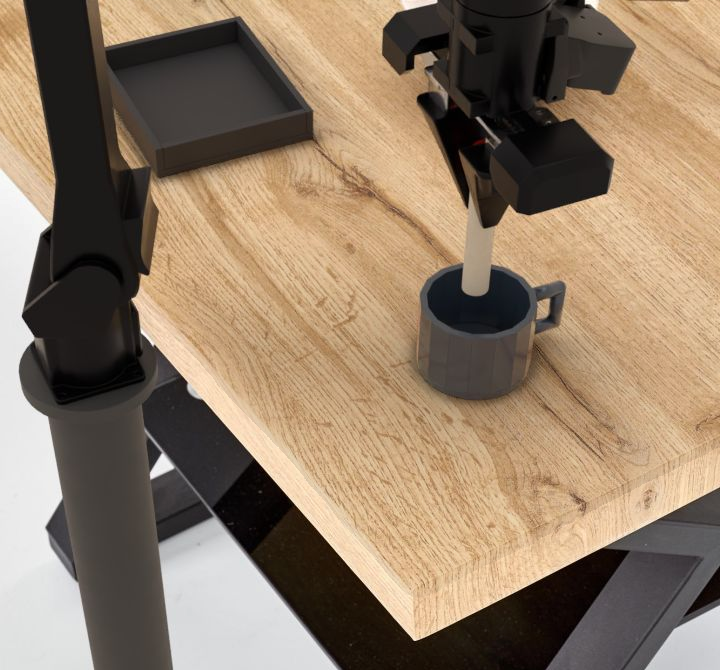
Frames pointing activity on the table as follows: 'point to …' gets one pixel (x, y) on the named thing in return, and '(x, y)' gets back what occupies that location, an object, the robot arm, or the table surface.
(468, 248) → the marker
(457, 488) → the table surface
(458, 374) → the mug
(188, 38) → the tray
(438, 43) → the robot arm
